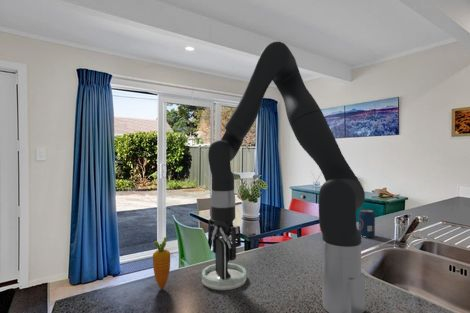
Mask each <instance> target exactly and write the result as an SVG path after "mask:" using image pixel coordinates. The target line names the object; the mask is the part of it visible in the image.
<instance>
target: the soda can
mask: <svg viewBox="0 0 470 313" xmlns="http://www.w3.org/2000/svg"><path fill="white" fill-rule="evenodd" d="M358 230H359V231H360V232H361V235H362V236H366V237H372V238H374V237H375V235H376V214H375V213H374V210H373V209H367V208H366V209H365V208H363V209H360V210H359V212H358ZM373 236H374V237H373Z"/></svg>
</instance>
